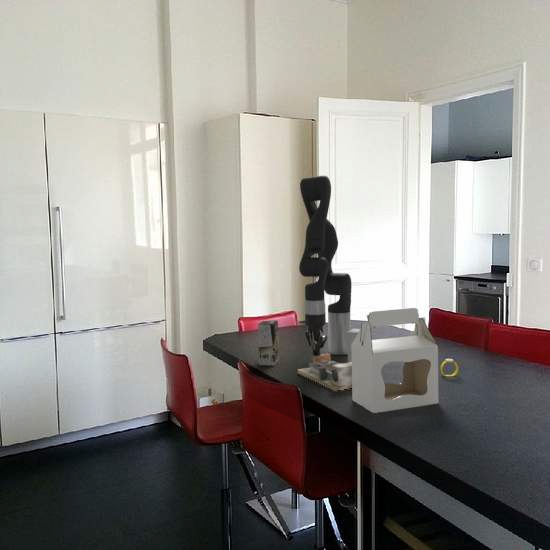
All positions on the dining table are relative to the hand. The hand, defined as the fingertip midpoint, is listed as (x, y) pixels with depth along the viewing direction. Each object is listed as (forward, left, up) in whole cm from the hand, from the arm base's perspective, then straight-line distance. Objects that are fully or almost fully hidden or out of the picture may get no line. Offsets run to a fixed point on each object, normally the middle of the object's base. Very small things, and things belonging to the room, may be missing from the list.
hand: (316, 358), depth 211 cm
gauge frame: (0, +13, -4) cm, 14 cm away
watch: (-36, +30, -5) cm, 47 cm away
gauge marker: (+6, +16, -3) cm, 18 cm away
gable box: (-3, +44, -5) cm, 44 cm away
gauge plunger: (+2, +6, -3) cm, 7 cm away
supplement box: (-20, -2, -5) cm, 21 cm away
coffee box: (+10, -20, -5) cm, 23 cm away
